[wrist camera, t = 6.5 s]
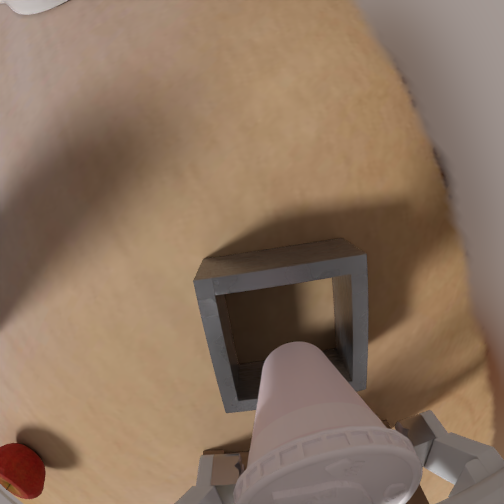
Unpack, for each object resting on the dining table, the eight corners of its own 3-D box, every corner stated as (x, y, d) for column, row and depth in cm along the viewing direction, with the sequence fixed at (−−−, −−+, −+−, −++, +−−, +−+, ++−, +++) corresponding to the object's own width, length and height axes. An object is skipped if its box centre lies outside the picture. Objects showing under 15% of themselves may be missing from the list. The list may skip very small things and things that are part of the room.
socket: (203, 259, 21) (193, 280, 17) (342, 237, 21) (366, 253, 17) (228, 375, 24) (225, 413, 19) (348, 355, 23) (365, 389, 19)
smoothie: (282, 296, 16) (380, 574, 2) (371, 351, 17) (510, 542, 3) (216, 384, 17) (184, 627, 3) (304, 427, 17) (353, 627, 4)
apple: (52, 478, 28) (34, 515, 21) (8, 449, 27) (-14, 482, 20) (54, 455, 27) (32, 497, 19) (5, 422, 26) (-23, 459, 18)
